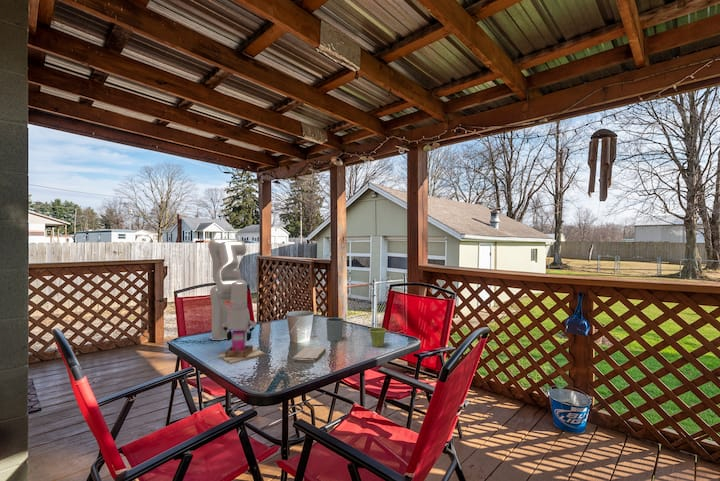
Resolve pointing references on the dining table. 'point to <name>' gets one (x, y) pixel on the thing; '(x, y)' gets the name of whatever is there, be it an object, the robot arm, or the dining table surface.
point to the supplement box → (238, 340)
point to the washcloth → (309, 355)
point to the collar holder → (241, 354)
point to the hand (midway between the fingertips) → (239, 340)
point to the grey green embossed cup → (334, 329)
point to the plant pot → (377, 336)
